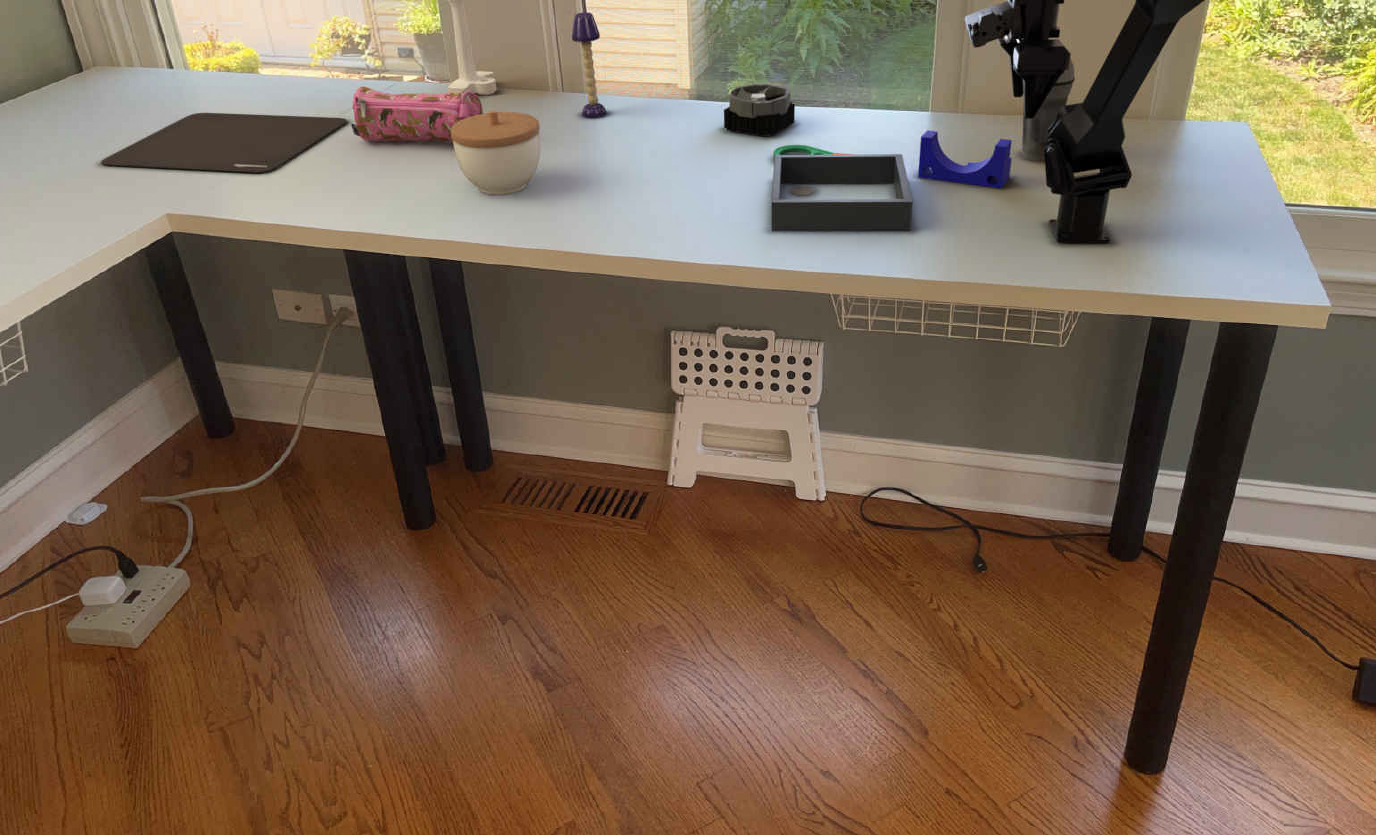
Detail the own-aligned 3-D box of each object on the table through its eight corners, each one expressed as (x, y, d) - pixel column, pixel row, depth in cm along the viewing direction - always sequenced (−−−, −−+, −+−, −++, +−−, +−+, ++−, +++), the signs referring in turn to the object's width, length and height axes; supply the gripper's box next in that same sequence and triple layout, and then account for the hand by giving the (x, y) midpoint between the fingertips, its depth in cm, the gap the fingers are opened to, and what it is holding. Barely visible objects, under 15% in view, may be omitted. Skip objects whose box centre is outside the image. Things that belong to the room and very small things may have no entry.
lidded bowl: (464, 206, 156) (452, 130, 150) (455, 177, 167) (444, 104, 161) (552, 194, 159) (543, 119, 153) (538, 166, 169) (530, 94, 163)
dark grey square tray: (910, 231, 143) (912, 201, 141) (771, 231, 145) (771, 202, 143) (900, 181, 158) (902, 154, 156) (774, 181, 160) (774, 155, 158)
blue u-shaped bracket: (1009, 178, 157) (1014, 136, 154) (1001, 188, 154) (1006, 146, 151) (927, 167, 162) (930, 127, 159) (918, 177, 159) (921, 136, 156)
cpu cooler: (747, 80, 184) (802, 87, 179) (747, 114, 187) (801, 121, 182) (716, 96, 177) (772, 104, 172) (717, 131, 180) (772, 140, 175)
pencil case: (350, 148, 180) (339, 94, 175) (378, 130, 187) (368, 78, 183) (470, 155, 175) (462, 100, 170) (494, 136, 182) (487, 82, 177)
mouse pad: (94, 164, 178) (94, 163, 178) (194, 113, 200) (194, 112, 199) (268, 173, 171) (267, 172, 171) (351, 119, 193) (351, 118, 192)
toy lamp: (575, 117, 189) (565, 16, 180) (585, 109, 193) (576, 10, 184) (601, 118, 188) (592, 17, 179) (610, 110, 192) (603, 11, 183)
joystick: (474, 82, 210) (458, -29, 199) (509, 85, 208) (495, -28, 197) (444, 99, 201) (425, -16, 190) (480, 102, 199) (463, -15, 188)
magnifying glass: (767, 163, 166) (767, 152, 165) (781, 150, 171) (781, 140, 170) (865, 174, 161) (866, 163, 160) (876, 160, 165) (877, 149, 164)
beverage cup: (1065, 165, 161) (1086, 23, 150) (1013, 163, 162) (1031, 23, 151) (1061, 148, 167) (1081, 11, 156) (1011, 147, 168) (1028, 10, 157)
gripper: (964, -31, 146) (953, 87, 155) (983, 1, 130) (970, 130, 139) (1050, -33, 145) (1034, 86, 153) (1079, -1, 129) (1060, 129, 138)
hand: (1023, 107), depth 146 cm, fingers open, 9 cm apart
